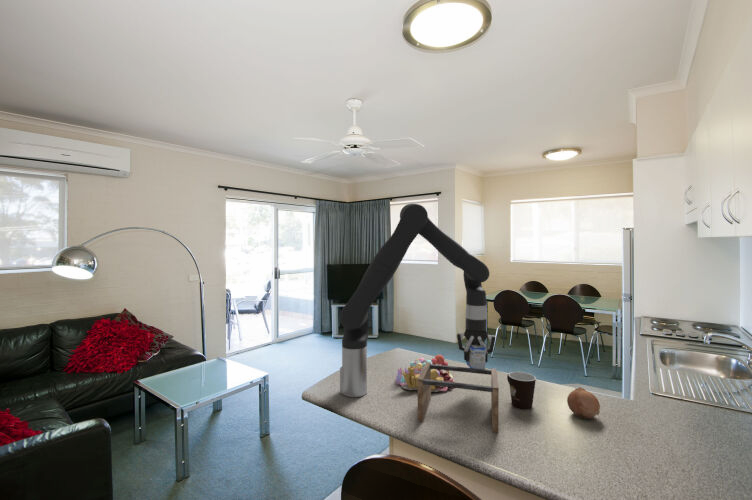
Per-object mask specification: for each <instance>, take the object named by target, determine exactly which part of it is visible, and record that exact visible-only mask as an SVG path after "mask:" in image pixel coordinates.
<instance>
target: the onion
mask: <svg viewBox="0 0 752 500" xmlns="http://www.w3.org/2000/svg"><path fill="white" fill-rule="evenodd" d="M566 402H567V406H568V409H569V410H570V411H571V413H573V414H574V415H576V416H577V417H579V418H580V419H584V420H588V419H589V420H590V419H594V417H596V416H599V414H600V412H601V411H600V409H601V404H600V402H599V400H598V398H597V397H596V395H594V394H593V393H591V392H590V391H587V390H586V389H585V388H583V387H580V386H579V387H577V388H575V389H574V390H572V391H571V392H569V394H568V395H567V399H566Z"/></svg>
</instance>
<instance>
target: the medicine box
mask: <svg viewBox="0 0 752 500" xmlns="http://www.w3.org/2000/svg"><path fill="white" fill-rule="evenodd" d="M466 365H467V366H468V368H476V369H486V362H485V348H484V347H482V346H481V345H476V344H475V345H470V347H469V349H468V362H466Z"/></svg>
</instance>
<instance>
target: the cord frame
mask: <svg viewBox="0 0 752 500" xmlns="http://www.w3.org/2000/svg"><path fill="white" fill-rule="evenodd" d="M431 369H439V370H442V371H445V370H449V372H450V371H451V372H459V373H460V372H461V373H470V374H481V375H490V376H491V381H490V382H491V384H490V386H489V385H480V384H471V383H462V382H456V381H454V382H446V381H437V380H431ZM497 371H498V370H497V368H493V367H492V368H491V369H486V368H485V369H476V368H470V367H465V366H464V367H463V366H452V365H448V366H445V365H438V364H436V365H434V364H431V363H430V362H426V364H425V366H424V368H423V370H422V372H421V374H420V376H419V378H418V390H417V422H421V423H423V422H424V419H425V417H426V413H427V411H428V408H429V406H430V403H431V401H432V394H431V393H432V392H431V385H433V386H442V387H451V388H452V389H461V390H468V391H469V390H470V391H478V392H479V391H480V392H488V393H490V394H491V397H490V404H491V407H490V409H491V410H490V411H491V426H492V427H491V428H492V433H499V420H500V419H499V413H500V412H499V407H500V406H499V403H500V402H499V397H500V395H499V379H498V372H497Z"/></svg>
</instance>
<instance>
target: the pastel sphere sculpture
mask: <svg viewBox="0 0 752 500" xmlns="http://www.w3.org/2000/svg"><path fill="white" fill-rule="evenodd" d="M426 362H430V363H431V364H434V365H445V366H449V363H448V362H447V361H446V360H445V357H444V356H443V355H441V354H436V356H434V357H433V358H432V359H429V360H426V359H425V358H424V357H419V358H415V359H414V361H411V362H410V363H409V366H408V367H407V366H405V368H404V370H403V369H402V367H399V366H398V367H397V374H396V376H395V379H396V381H395V382H396V383H397V386H398V385H399V386H400V387H401V388H402V389H404V390H408V391H418V378H419V376H420V374H421V372H422V370H423V368H424V366H425V364H426ZM443 371H444V372H443ZM431 380H437V381H446V382H455V381H454V376H453V375H452V374H451V372H450V371H449V370H439V369H431ZM448 389H449V390H451V391H452V390H453V389H454V388H451V387H442V386H433V385H431V393H437V392H447V391H448Z"/></svg>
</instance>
